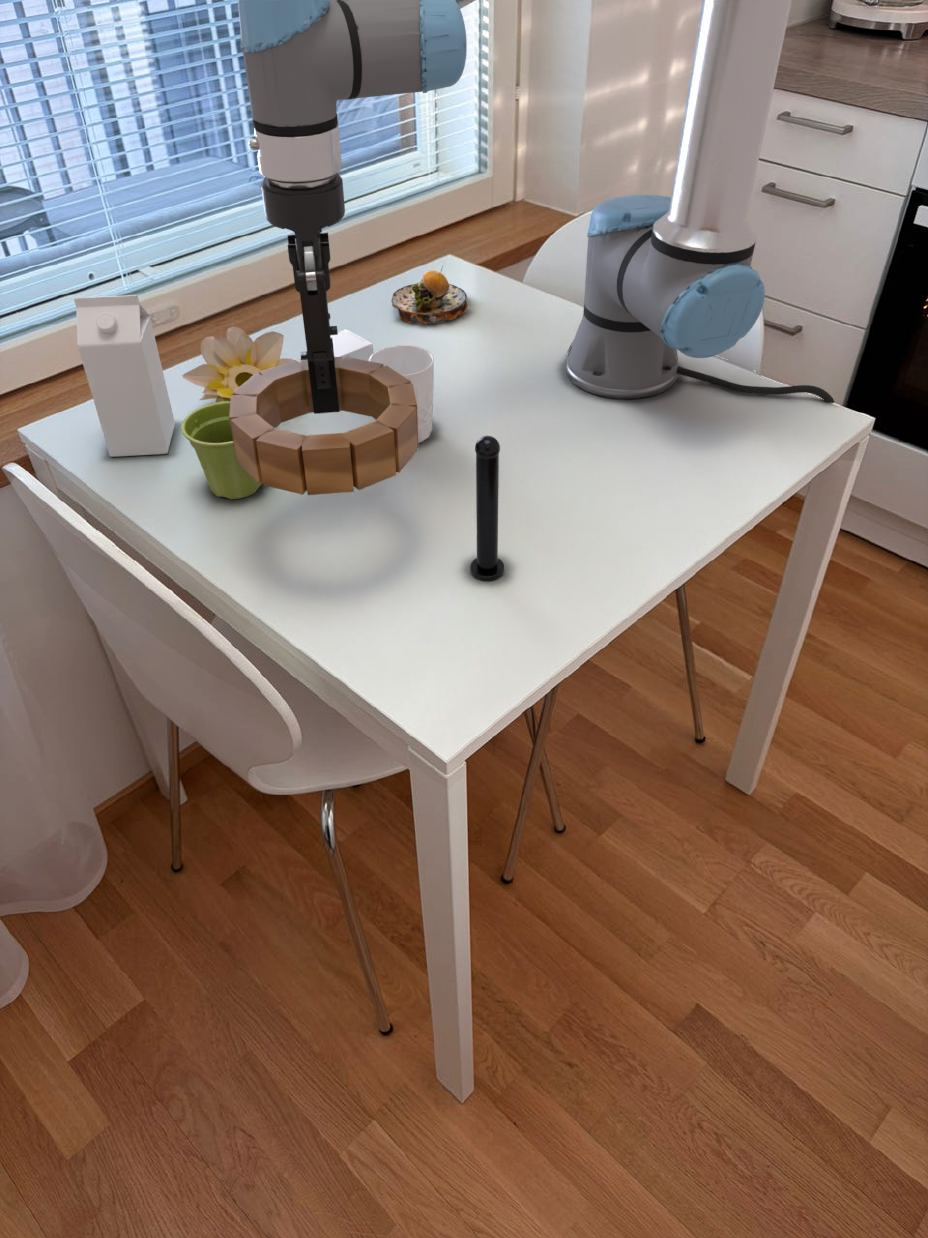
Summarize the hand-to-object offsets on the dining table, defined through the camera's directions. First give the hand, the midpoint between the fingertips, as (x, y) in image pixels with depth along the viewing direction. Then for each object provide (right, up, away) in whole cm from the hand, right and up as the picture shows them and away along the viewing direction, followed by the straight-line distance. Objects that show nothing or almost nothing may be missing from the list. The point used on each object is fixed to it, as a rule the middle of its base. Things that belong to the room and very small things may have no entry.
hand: (326, 402), depth 107 cm
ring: (+1, -5, -6) cm, 8 cm away
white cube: (-1, +9, +29) cm, 31 cm away
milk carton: (-26, -1, +19) cm, 32 cm away
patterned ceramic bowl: (+9, +25, +47) cm, 54 cm away
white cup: (+7, 0, +20) cm, 21 cm away
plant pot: (-12, -8, +11) cm, 18 cm away
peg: (+17, -18, -2) cm, 25 cm away
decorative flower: (-14, +5, +25) cm, 29 cm away
